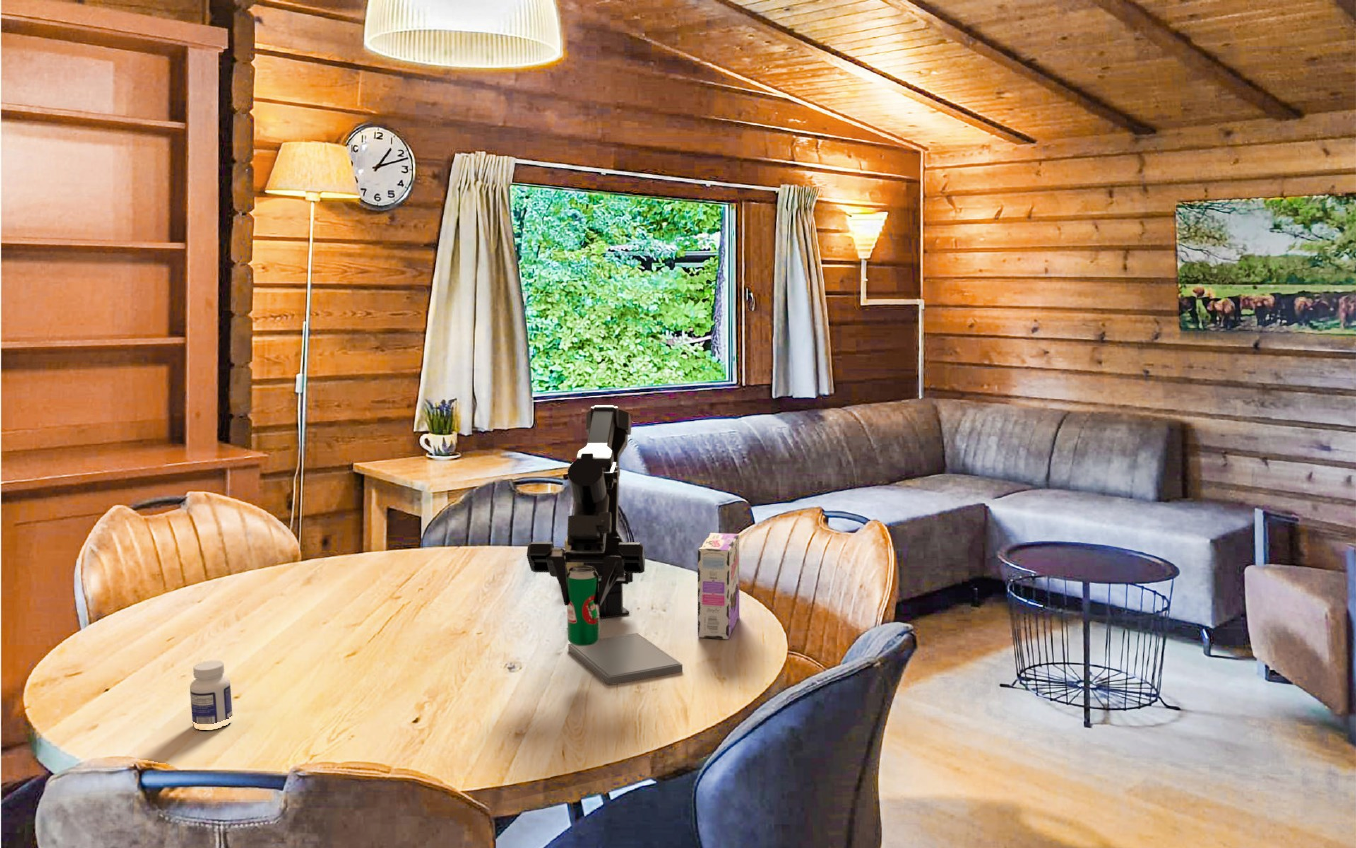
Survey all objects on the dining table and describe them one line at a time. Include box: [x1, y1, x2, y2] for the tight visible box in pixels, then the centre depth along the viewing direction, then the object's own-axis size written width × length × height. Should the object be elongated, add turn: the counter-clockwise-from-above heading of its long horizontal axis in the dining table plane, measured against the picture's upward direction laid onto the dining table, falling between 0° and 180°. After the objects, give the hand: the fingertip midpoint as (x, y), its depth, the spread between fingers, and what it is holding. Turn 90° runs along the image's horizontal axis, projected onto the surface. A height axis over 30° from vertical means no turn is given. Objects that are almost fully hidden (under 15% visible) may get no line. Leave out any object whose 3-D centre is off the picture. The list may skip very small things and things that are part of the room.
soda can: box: [566, 565, 600, 646], centre depth 167 cm, size 5×5×12 cm
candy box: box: [697, 532, 740, 640], centre depth 192 cm, size 14×6×16 cm, turn 168°
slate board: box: [567, 632, 683, 686], centre depth 175 cm, size 18×13×1 cm
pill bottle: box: [189, 659, 233, 724], centre depth 150 cm, size 5×5×9 cm
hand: (582, 604), depth 165 cm, fingers closed on soda can, 5 cm apart
